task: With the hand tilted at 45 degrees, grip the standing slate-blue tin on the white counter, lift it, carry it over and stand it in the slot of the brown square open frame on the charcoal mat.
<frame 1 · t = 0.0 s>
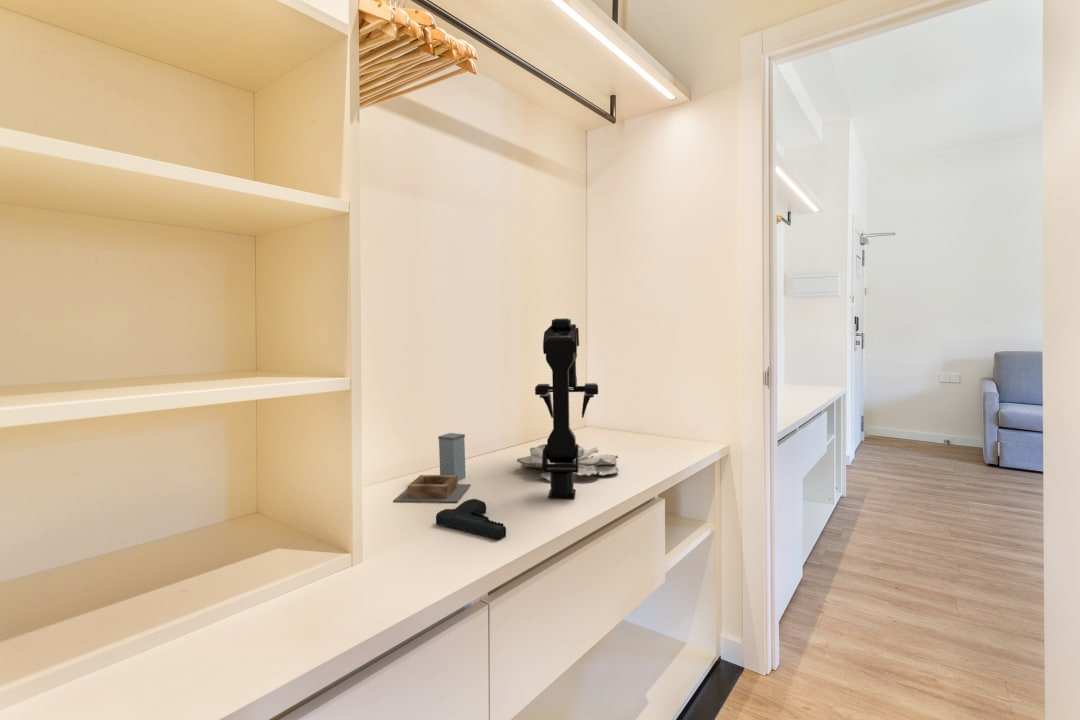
hand: (567, 417, 157), 15 cm above the table, tool pointing down, fingers open, 9 cm apart
brown square open frame: (433, 486, 133), on the mat
tin: (453, 479, 146), on the table
decorative wall flower: (567, 470, 155), on the table
mat: (433, 493, 134), on the table
handgun: (481, 527, 112), on the table
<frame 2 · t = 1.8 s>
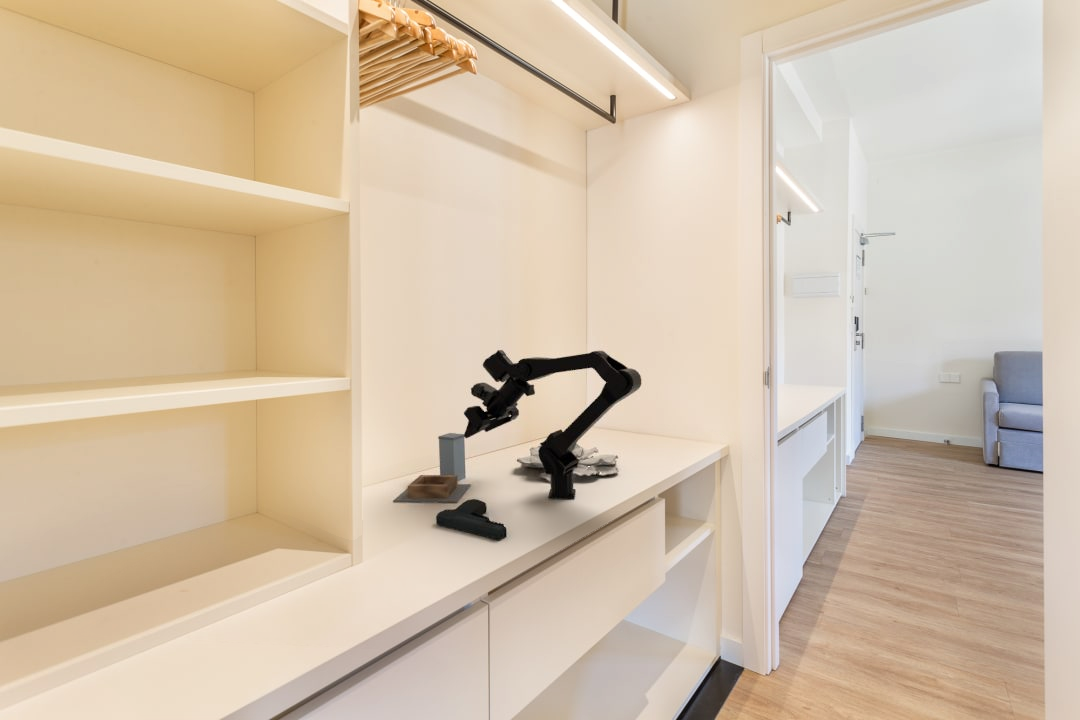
hand: (475, 433, 142), 13 cm above the table, tool tilted 45°, fingers open, 9 cm apart
nothing on the table moved.
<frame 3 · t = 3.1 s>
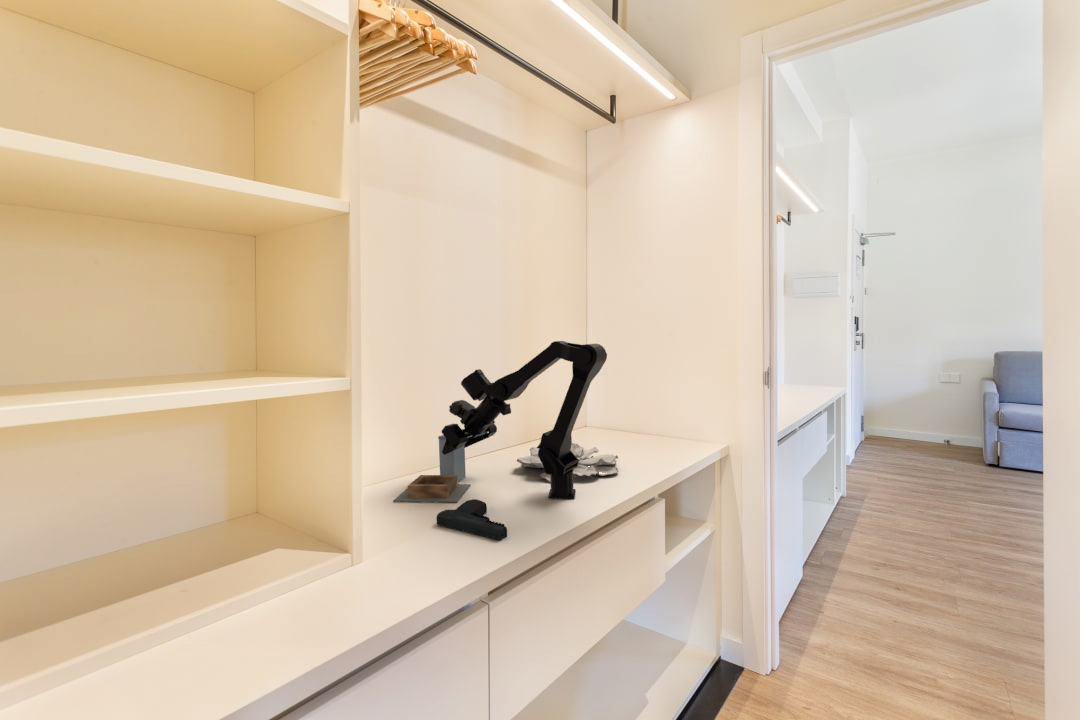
hand: (453, 449, 145), 8 cm above the table, tool tilted 45°, fingers open, 9 cm apart
nothing on the table moved.
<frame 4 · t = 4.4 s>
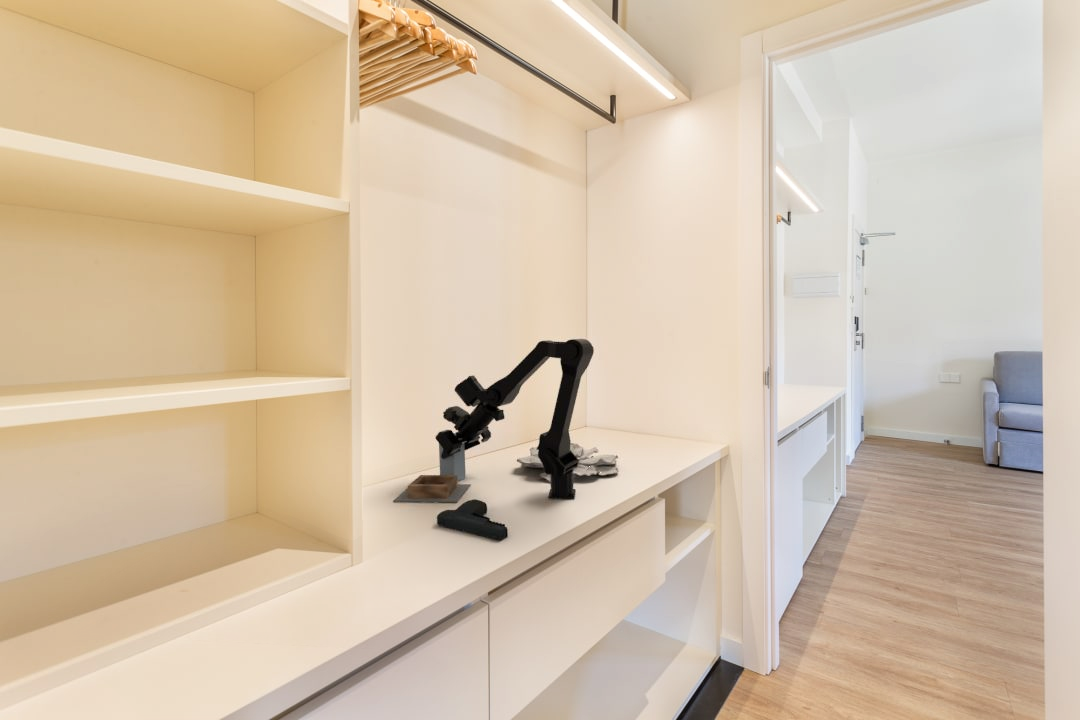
hand: (448, 455, 146), 7 cm above the table, tool tilted 45°, fingers closed on tin, 5 cm apart
tin: (452, 479, 146), on the table, touching gripper
everything else where it was.
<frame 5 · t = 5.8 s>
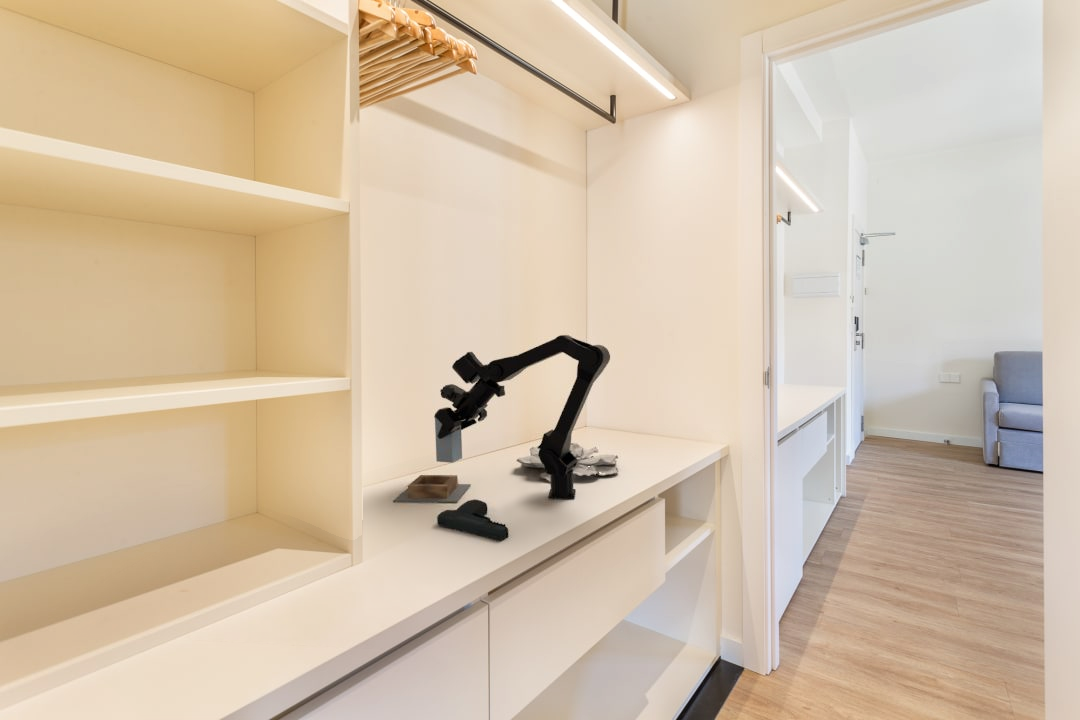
hand: (444, 435, 142), 13 cm above the table, tool tilted 45°, fingers closed on tin, 5 cm apart
tin: (449, 459, 142), point 7 cm above the table, touching gripper
everything else where it was.
when the fingers open (8 cm above the table, at t = 7.7 s): tin stays where it is, resting on mat.
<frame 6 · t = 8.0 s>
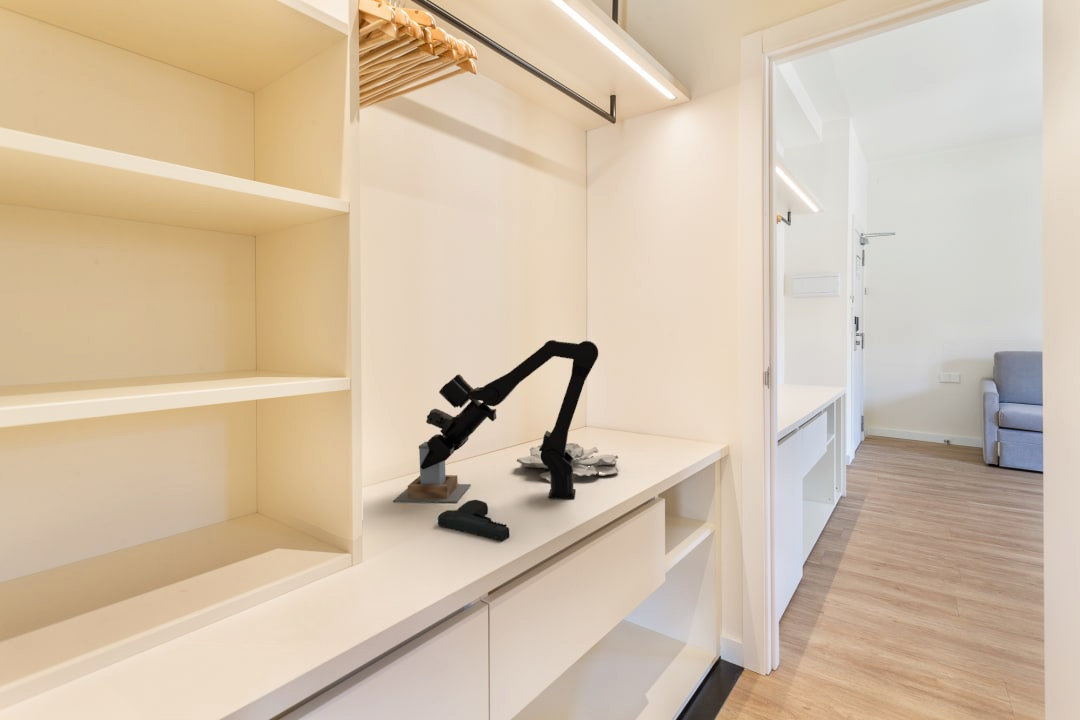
hand: (427, 463, 133), 8 cm above the table, tool tilted 45°, fingers open, 8 cm apart
tin: (433, 492, 133), resting on mat
everything else where it was.
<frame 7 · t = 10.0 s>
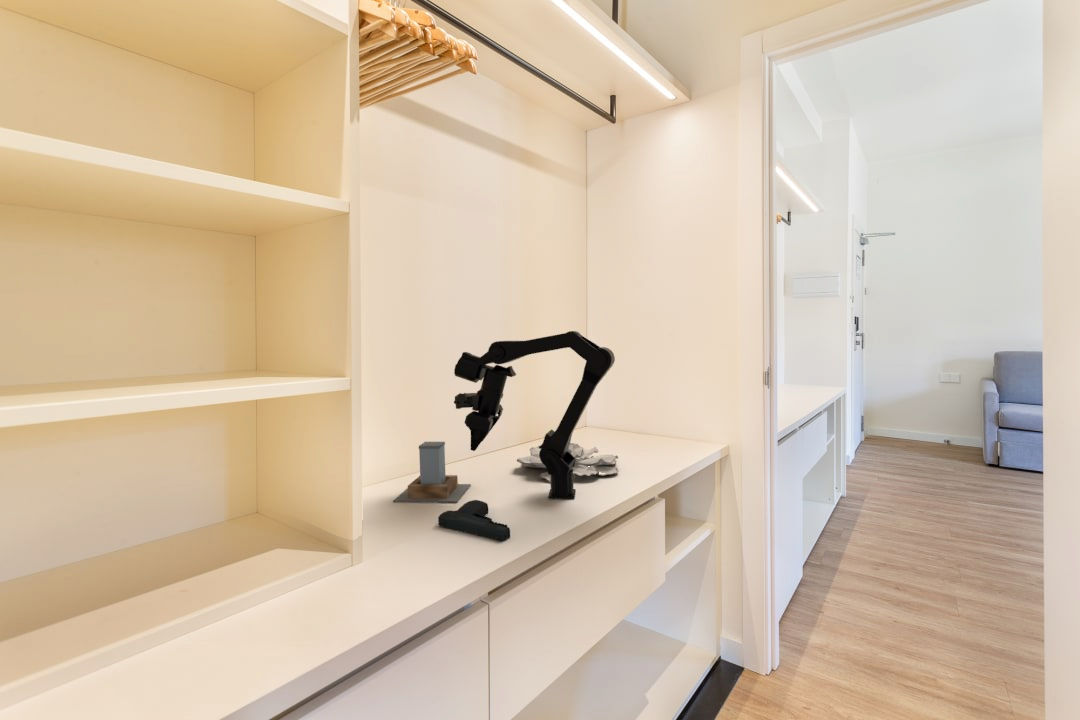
hand: (476, 445, 135), 12 cm above the table, tool tilted 20°, fingers open, 9 cm apart
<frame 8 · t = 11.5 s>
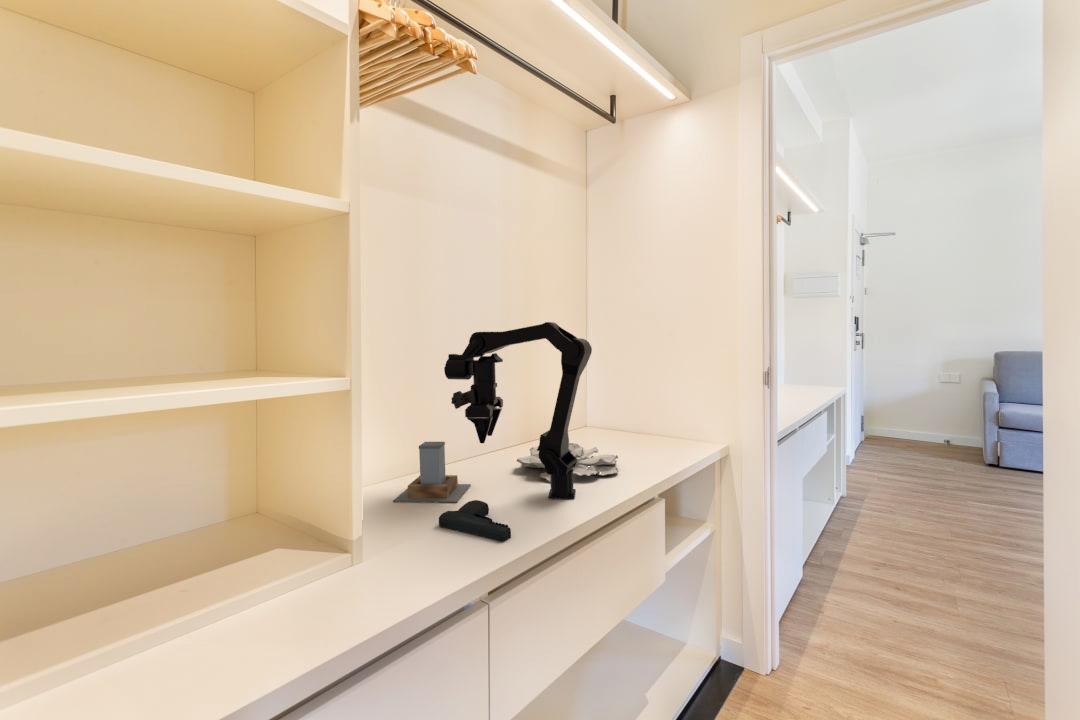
hand: (486, 439, 136), 13 cm above the table, tool pointing down, fingers open, 9 cm apart
at the end: tin 0.0 cm off-centre on the brown square open frame, point 0.4 cm above the brown square open frame's base; tin tilted 0°; the gripper is holding nothing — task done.
